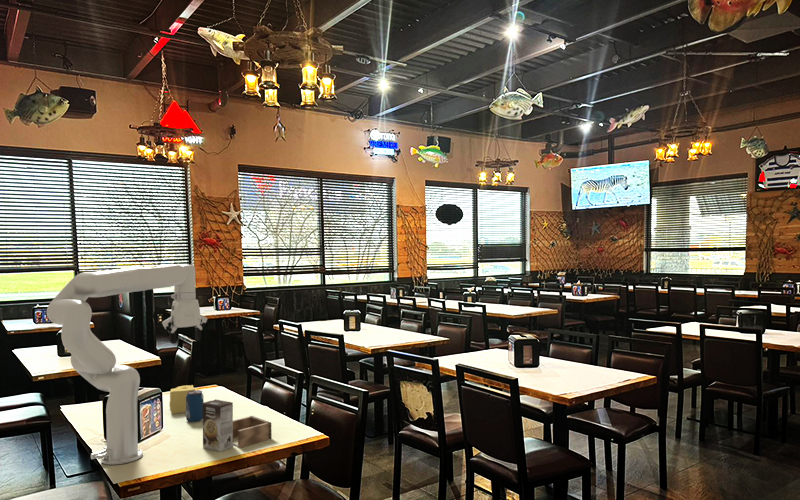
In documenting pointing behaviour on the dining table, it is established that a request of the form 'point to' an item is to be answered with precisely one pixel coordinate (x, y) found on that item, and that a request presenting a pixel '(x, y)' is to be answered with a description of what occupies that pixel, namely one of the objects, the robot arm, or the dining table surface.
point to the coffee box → (217, 425)
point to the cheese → (179, 398)
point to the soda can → (194, 406)
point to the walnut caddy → (251, 431)
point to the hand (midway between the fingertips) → (185, 341)
